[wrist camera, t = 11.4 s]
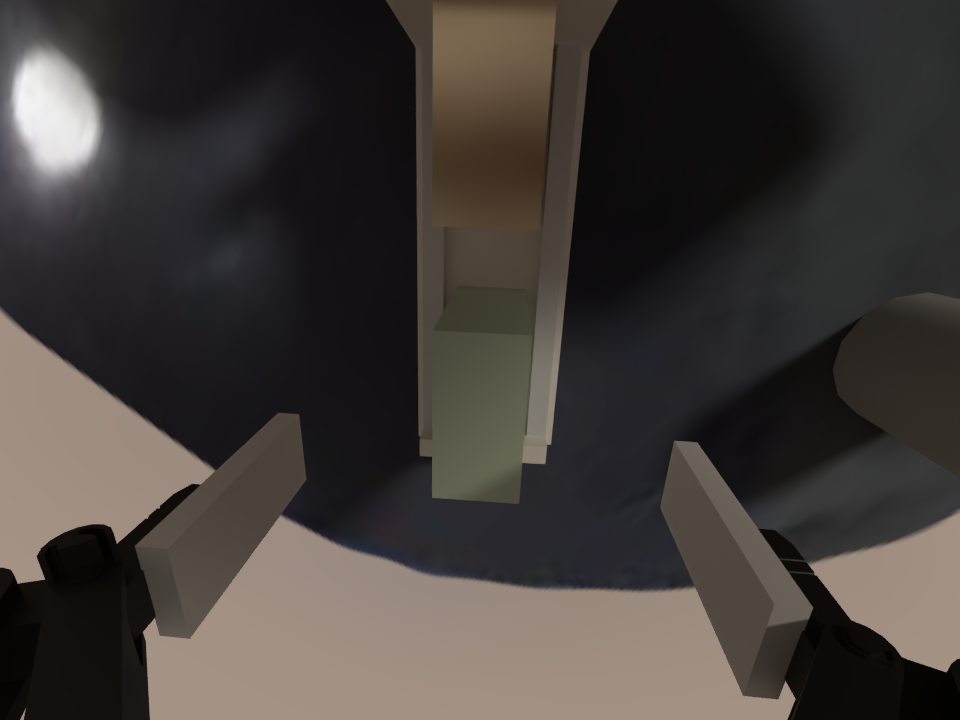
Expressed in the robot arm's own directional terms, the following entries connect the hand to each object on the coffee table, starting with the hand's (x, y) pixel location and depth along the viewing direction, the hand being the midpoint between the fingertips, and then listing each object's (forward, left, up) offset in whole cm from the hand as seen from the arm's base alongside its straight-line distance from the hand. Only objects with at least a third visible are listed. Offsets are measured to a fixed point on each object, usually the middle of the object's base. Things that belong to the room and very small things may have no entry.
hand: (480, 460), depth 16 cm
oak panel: (-12, 0, -14) cm, 18 cm away
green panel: (0, 0, -14) cm, 14 cm away
